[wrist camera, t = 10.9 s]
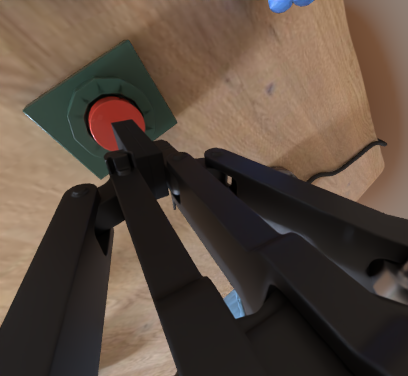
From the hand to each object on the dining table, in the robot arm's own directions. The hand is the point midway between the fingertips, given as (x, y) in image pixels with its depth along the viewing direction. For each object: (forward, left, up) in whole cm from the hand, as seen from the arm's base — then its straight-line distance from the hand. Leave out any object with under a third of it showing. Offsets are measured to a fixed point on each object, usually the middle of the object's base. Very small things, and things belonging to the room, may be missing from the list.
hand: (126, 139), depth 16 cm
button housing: (0, 0, -9) cm, 9 cm away
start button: (0, 0, -6) cm, 6 cm away
